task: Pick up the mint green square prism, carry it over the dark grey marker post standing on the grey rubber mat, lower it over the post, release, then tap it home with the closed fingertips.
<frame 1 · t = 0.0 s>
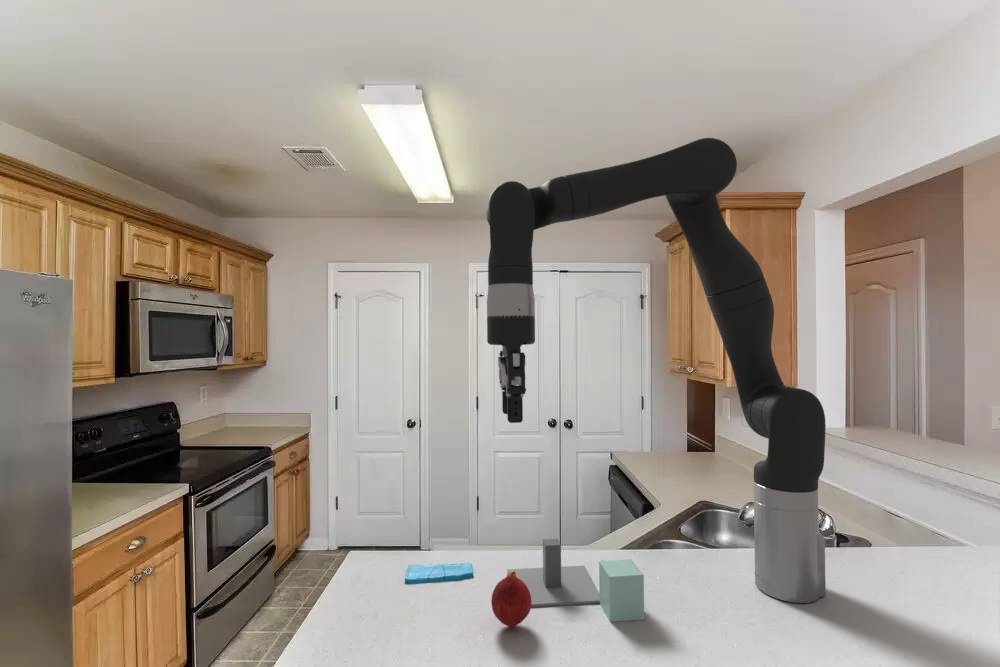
hand: (512, 417, 79), 29 cm above the countertop, fingers open, 8 cm apart
sponge: (439, 578, 89), on the countertop
onion: (511, 628, 73), on the countertop
post: (551, 562, 85), on the mat
mat: (552, 586, 85), on the countertop
mint green square prism: (621, 611, 77), on the countertop
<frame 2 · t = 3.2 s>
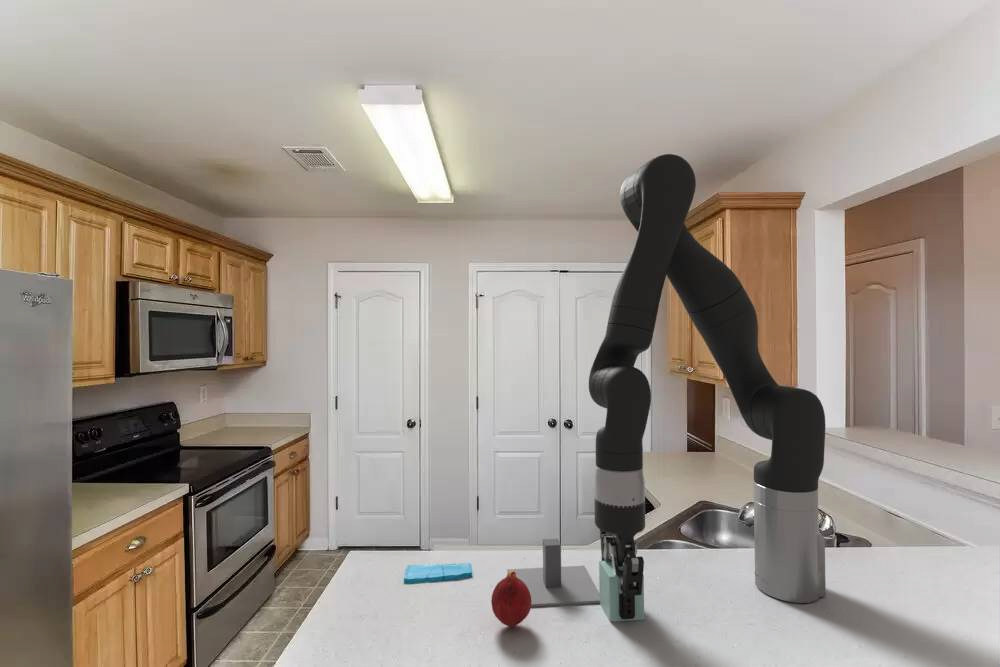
hand: (620, 606, 77), 1 cm above the countertop, fingers closed on mint green square prism, 5 cm apart
mint green square prism: (621, 611, 77), on the countertop, touching gripper, mat
everything else where it was.
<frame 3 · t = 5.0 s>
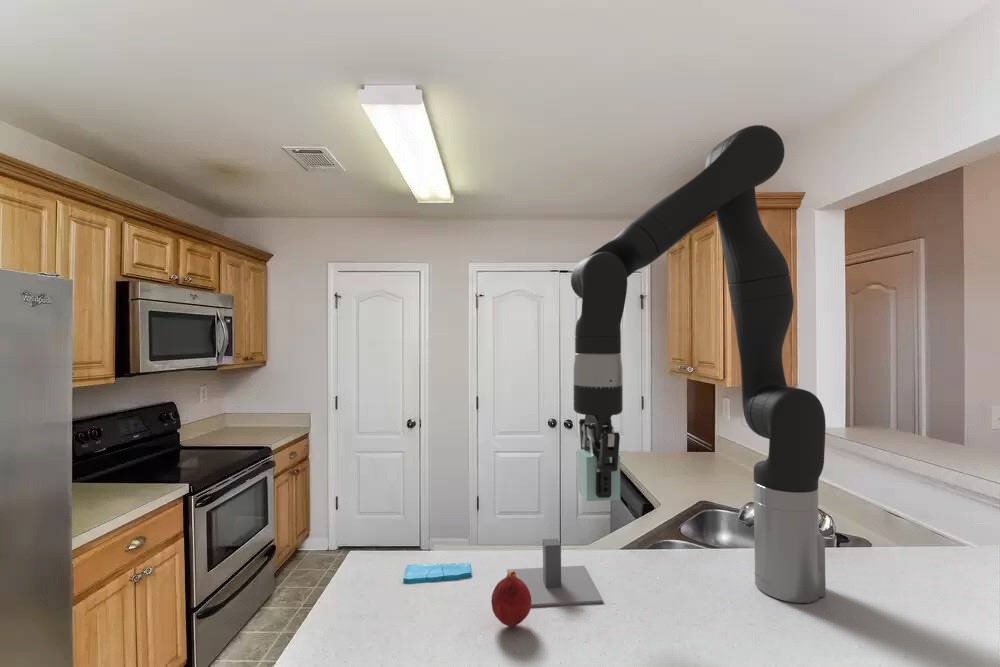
hand: (597, 490, 79), 18 cm above the countertop, fingers closed on mint green square prism, 5 cm apart
mint green square prism: (598, 495, 79), point 17 cm above the countertop, touching gripper
everything else where it was.
when the fingers open (3 cm above the countertop, at t = 8.3 s): mint green square prism drops 1 cm, resting on post.
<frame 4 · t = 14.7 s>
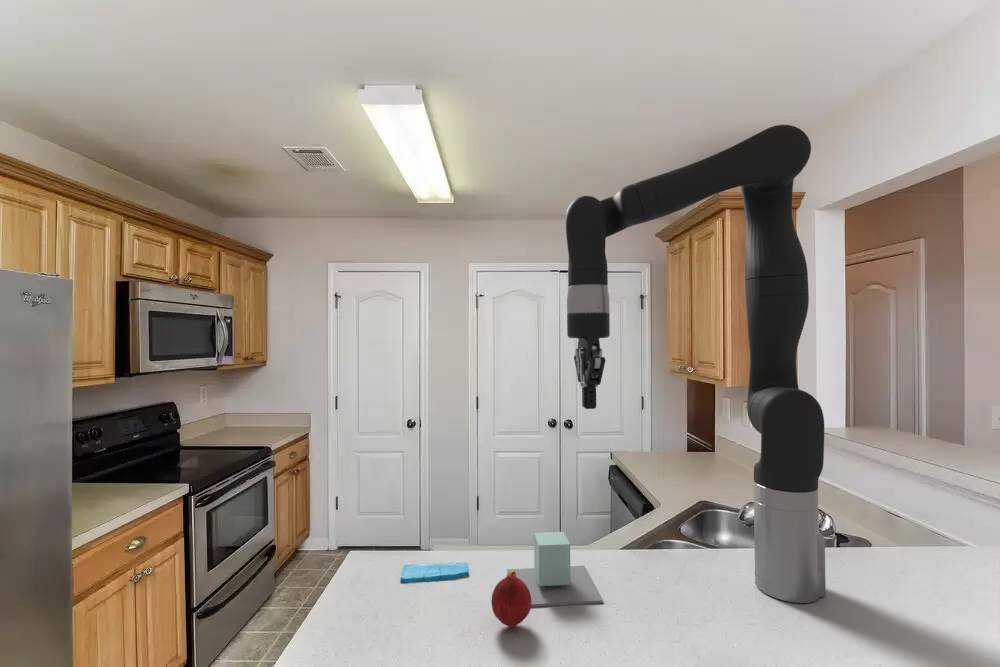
hand: (589, 408, 90), 29 cm above the countertop, fingers closed
mint green square prism: (552, 577, 85), point 1 cm above the countertop, touching post
everything else where it was.
at the end: mint green square prism 0.1 cm from the post (horizontally); mint green square prism point 1.4 cm above the countertop; the gripper is holding nothing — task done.
